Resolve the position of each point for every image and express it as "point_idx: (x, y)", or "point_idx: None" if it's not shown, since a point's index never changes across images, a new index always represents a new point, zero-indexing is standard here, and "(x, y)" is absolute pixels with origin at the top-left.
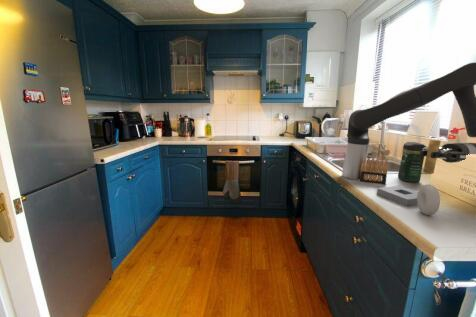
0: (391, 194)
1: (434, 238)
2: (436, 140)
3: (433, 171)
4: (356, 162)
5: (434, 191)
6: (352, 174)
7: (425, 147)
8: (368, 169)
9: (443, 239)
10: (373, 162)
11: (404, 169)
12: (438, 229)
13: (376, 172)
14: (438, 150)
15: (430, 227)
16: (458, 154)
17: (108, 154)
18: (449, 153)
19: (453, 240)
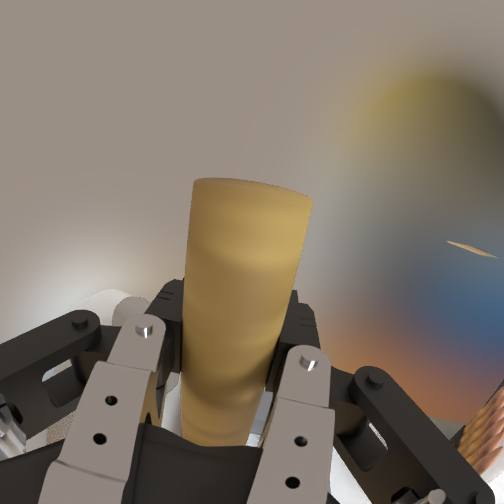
0: (262, 394)
1: (113, 298)
2: (240, 187)
3: (181, 435)
4: (495, 393)
5: (127, 297)
6: (466, 425)
7: (463, 466)
8: (467, 435)
9: (102, 302)
10: (488, 422)
11: None
12: (109, 325)
13: None
14: (183, 307)
15: None
16: (6, 357)
17: (463, 246)
18: (83, 315)
19: (89, 306)
